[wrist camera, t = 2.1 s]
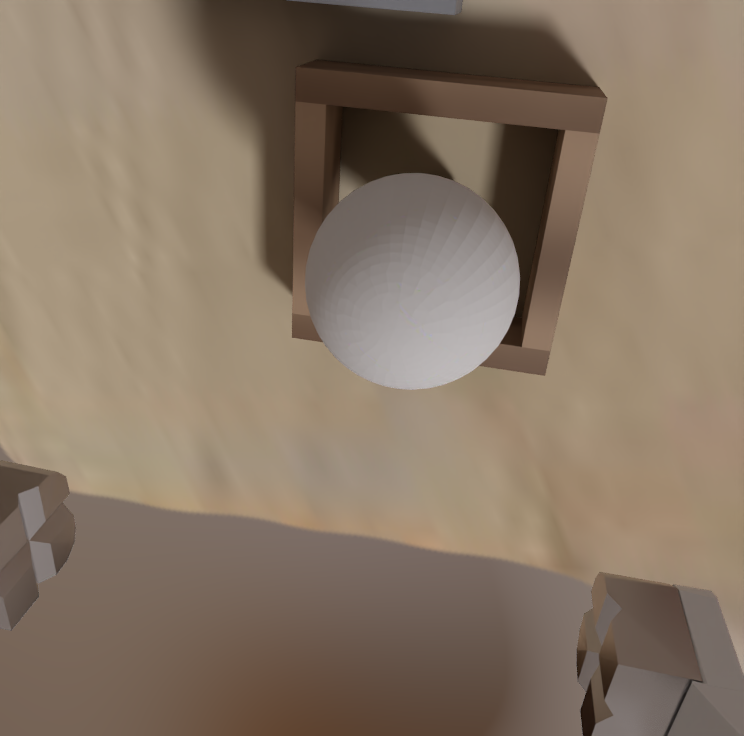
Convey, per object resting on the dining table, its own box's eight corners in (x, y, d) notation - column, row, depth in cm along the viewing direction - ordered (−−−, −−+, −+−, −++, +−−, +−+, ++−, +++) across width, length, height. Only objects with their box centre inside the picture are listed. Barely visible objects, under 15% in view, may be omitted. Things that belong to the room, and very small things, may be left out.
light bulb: (407, 93, 23) (343, 157, 15) (553, 184, 24) (572, 295, 15) (332, 236, 26) (241, 358, 18) (463, 314, 27) (436, 468, 18)
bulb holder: (316, 59, 23) (295, 66, 21) (598, 87, 22) (607, 98, 20) (309, 310, 28) (291, 337, 26) (542, 344, 27) (545, 375, 25)
